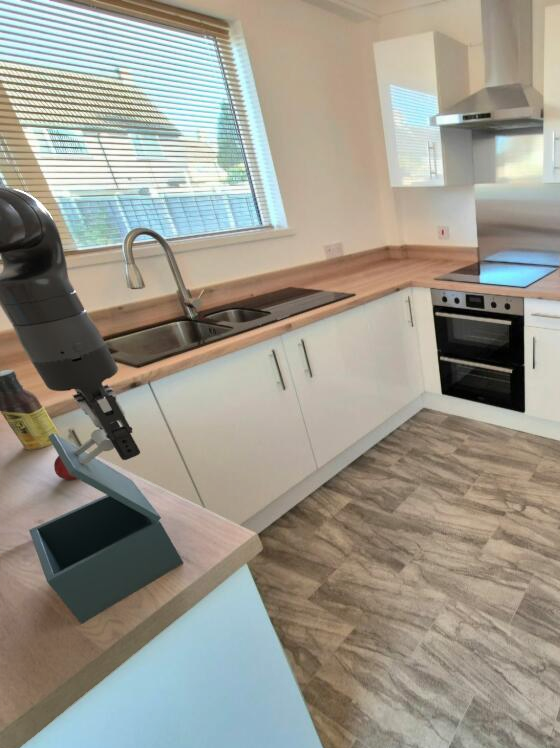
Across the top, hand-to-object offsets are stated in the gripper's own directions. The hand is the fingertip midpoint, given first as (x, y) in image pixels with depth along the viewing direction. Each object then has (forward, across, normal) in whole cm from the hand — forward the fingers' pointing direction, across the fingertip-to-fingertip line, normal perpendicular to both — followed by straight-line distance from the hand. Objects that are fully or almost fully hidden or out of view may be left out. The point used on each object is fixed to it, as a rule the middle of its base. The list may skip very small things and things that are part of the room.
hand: (123, 447), depth 65 cm
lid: (+4, 0, -4) cm, 5 cm away
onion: (+19, -36, -6) cm, 41 cm away
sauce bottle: (+19, -60, -8) cm, 64 cm away
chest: (+19, 0, -7) cm, 20 cm away
